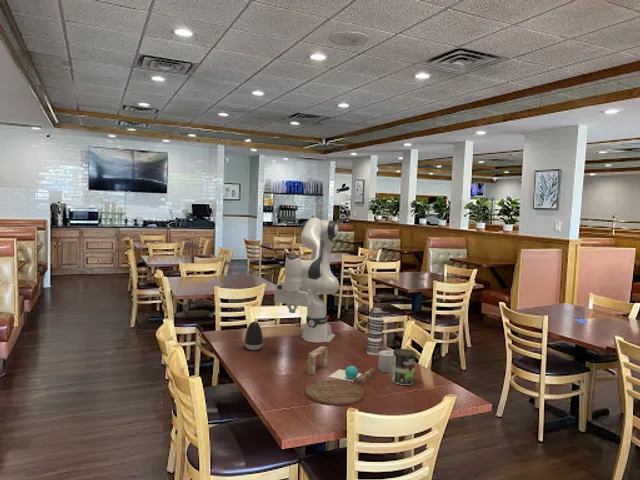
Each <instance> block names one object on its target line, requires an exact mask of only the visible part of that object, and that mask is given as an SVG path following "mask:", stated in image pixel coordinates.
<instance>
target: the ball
mask: <svg viewBox="0 0 640 480" xmlns="http://www.w3.org/2000/svg"><path fill="white" fill-rule="evenodd" d="M344 370H345V375H346V376H347V378H349V379H354V378H356V377H357V375H358V373H359V370H358V368H357V367H356V366H354V365H349V366H347V367H346V368H345V369H344Z"/></svg>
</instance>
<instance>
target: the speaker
mask: <svg viewBox="0 0 640 480" xmlns="http://www.w3.org/2000/svg"><path fill="white" fill-rule="evenodd" d="M243 342H244V345H245V348H247V350H250V351H258V350H260V349H261V348H262V346H263V343H264V337H263V332H262V328H261V325H260V324H259V322H257V321H251V322H250V323H249V325H248V326H247V329H246V332H245V335H244V341H243Z"/></svg>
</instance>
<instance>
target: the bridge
mask: <svg viewBox="0 0 640 480" xmlns="http://www.w3.org/2000/svg"><path fill="white" fill-rule="evenodd" d="M328 348H329V347H328V346H324V345H321V346H319V347H318V348H316V349H314V350H312V351H310V352H308V353H307V373H306V374H307V375H311V376H312V375H313V376H314V375H315V374H316V358H317V356H318V355H319V367H322V368H325V367H327V365H328Z"/></svg>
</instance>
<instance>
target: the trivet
mask: <svg viewBox="0 0 640 480" xmlns="http://www.w3.org/2000/svg"><path fill="white" fill-rule="evenodd" d="M305 395H306V397H307V398H308V399H309V400H310V399H311V400H310V401H312V400H313V402H314V403H317V404H320V405H324V404H325V405H324V406H330V405H335V406H334V407H343V406H342V405H347V406H349V405H348V404H352V403H356V402H358V403H360V402H362V401H363V400H362V399H364V398H365V391H364V389H363V387H362V386H358V385H356V383H353V382H350V381H346V380H341V379H326V380H325V379H324V380H318V381H315V382H312V383H310V384H308V385H307V386H306V388H305ZM361 400H362V401H361ZM359 401H360V402H359ZM356 404H357V403H356ZM352 405H353V404H352Z"/></svg>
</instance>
